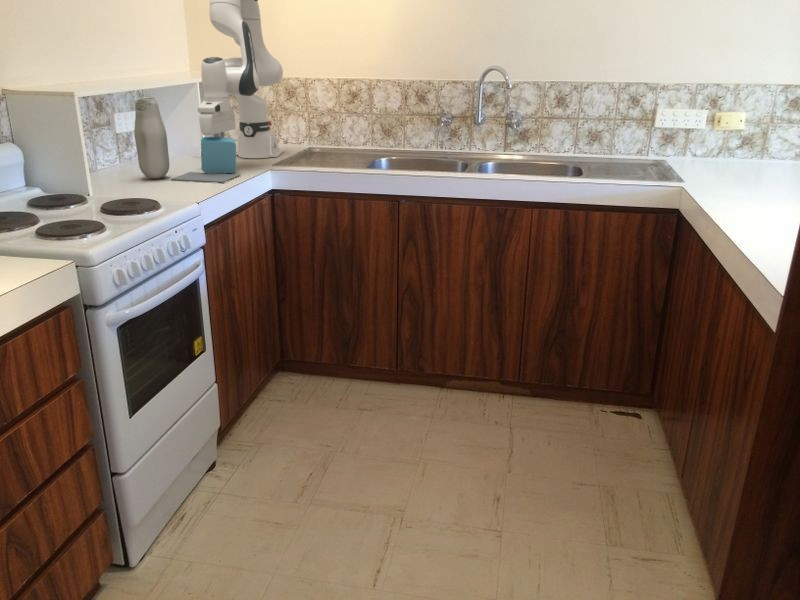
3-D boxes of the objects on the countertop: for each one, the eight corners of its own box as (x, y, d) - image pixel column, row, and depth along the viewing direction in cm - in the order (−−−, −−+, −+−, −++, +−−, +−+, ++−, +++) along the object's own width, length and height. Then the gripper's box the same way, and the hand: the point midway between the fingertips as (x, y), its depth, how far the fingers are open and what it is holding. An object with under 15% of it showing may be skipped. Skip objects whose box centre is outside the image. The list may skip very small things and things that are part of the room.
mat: (190, 173, 246) (189, 172, 246) (240, 176, 242) (240, 174, 241) (170, 180, 234) (170, 178, 234) (223, 183, 230) (223, 181, 230)
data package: (235, 169, 250) (235, 138, 244) (235, 174, 246) (235, 141, 240) (201, 168, 246) (200, 136, 240) (201, 172, 243) (200, 140, 237)
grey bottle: (144, 175, 241) (133, 94, 231) (174, 175, 242) (164, 94, 232) (137, 181, 232) (125, 97, 222) (167, 181, 233) (157, 96, 223)
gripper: (222, 103, 251) (225, 140, 256) (194, 107, 232) (198, 148, 237) (238, 103, 249) (241, 141, 254) (211, 108, 231) (215, 149, 236)
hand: (220, 144), depth 246 cm, fingers closed
